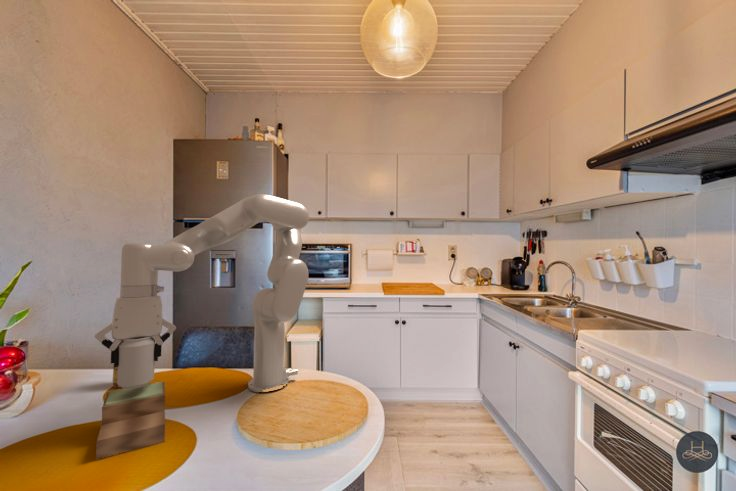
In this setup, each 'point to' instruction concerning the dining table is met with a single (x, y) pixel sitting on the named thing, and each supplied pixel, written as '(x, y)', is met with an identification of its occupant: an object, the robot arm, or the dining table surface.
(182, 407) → the dining table surface
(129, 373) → the can
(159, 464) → the dining table surface
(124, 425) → the step stand
